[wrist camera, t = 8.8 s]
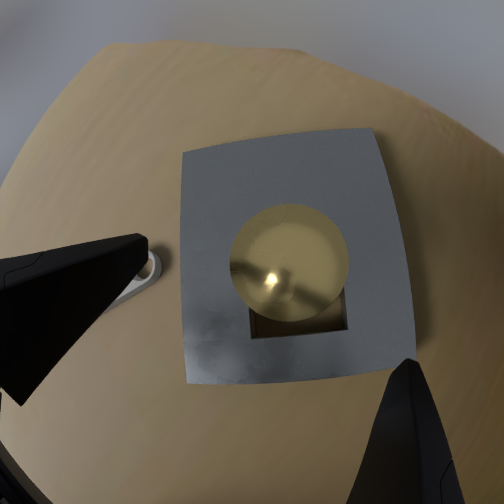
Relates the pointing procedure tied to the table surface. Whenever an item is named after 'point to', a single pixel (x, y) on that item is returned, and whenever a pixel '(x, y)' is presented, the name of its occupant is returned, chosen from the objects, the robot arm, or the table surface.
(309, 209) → the pin
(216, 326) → the slot plate
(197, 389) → the table surface
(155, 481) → the table surface
